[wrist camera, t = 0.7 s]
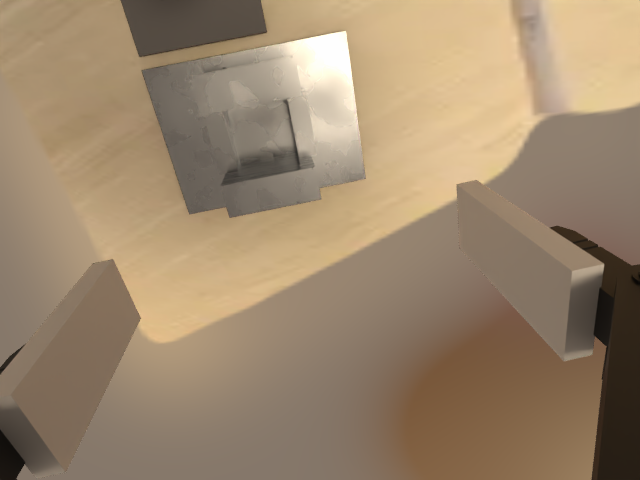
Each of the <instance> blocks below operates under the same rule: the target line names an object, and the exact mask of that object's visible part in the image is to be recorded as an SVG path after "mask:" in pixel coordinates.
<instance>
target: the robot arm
mask: <svg viewBox="0 0 640 480" xmlns="http://www.w3.org/2000/svg"><path fill="white" fill-rule="evenodd" d="M457 204H458V205H457V206H458V228H459V248H460V249H461V251H462V252H463V253H464V254H465V255H466V256H467V257H468V258H469V259H470V260H471V261H472V262H473V264H474V265H475V266H476V267H477V268H478V269H479V270H480V271H481V272H482V273H483V274H484V276H485V277H486V278H487V279H488V280H489V281H490V282H491V283H492V284H493V285H494V286H495V287H496V288H497V290H498V291H499V292H500V293H501V294H502V295H503V296H504V297H505V298H506V299H507V300H508V301H509V303H510V304H511V305H512V306H513V307H514V308H515V309H516V310H517V311H518V312H519V313H520V314H521V316H522V317H523V318H525V320H526V321H527V322H528V323H529V324H530V325H531V326H532V327H533V328H534V329H535V331H536V332H538V334H539V335H540V336H541V337H542V338H543V339H544V340H545V341H546V342H547V344H548V345H549V346H550V347H551V348H552V349H553V350H554V351H555V352H556V353H557V354H558V355H559V357H560V358H561V359H562V360H563V361H566V360H571V359H575V358H580V357H585V356H589V355H592V354H593V346H594V339H595V336H596V337H597V338H598V339H599V340H600V341H601V342H602V343H603V344H604V345H606V346H607V348H606V354H605V361H604V367H603V374H602V380H603V381H602V389H601V398H600V408H599V417H598V425H597V435H596V445H595V453H594V462H593V471H592V480H640V265H633V266H631V265H630V264H628V263H627V262H625V261H623V260H622V259H620V258H618V257H617V256H615V255H613V254H612V253H610V252H608V251H607V250H605V249H604V248H602V247H598V245H597V244H595V243H594V242H592V241H590V240H589V241H588V239H587V238H585V237H584V236H582V235H581V234H579V233H577V232H576V231H573V230H570V229H566V228H563V227H560V226H554V227H551V228H549V227H547V226H546V225H544V224H543V223H541V222H539V221H538V220H536V219H535V218H533V217H532V216H530V215H528V214H527V213H526V212H524V211H523V210H521V209H519V208H518V207H517V206H515V205H514V204H512V203H510V202H509V201H507V200H506V199H504V198H503V197H501V196H500V195H498V194H497V193H495V192H494V191H492V190H491V189H489V188H488V187H486V186H485V185H483V184H482V183H480V182H479V181H477V180H474V181H470V182H465V183H461V184H457ZM140 319H141V318H140V315H139V313H138V311H137V309H136V307H135V305H134V303H133V301H132V298H131V296H130V294H129V292H128V290H127V288H126V286H125V284H124V281H123V279H122V277H121V275H120V273H119V271H118V269H117V267H116V264H115V262H114V260H113V259H111V260H107V261H102V262H97V263H93V264H92V265H91V266H90V267H89V269H88V270H87V271H86V272H85V273H84V275H83V276H82V277H81V278H80V280H79V281H78V282H77V283H76V284H75V285H74V287H73V288H72V289H71V290H70V291H69V293H68V294H67V295H66V296H65V297H64V299H63V300H62V301H61V302H60V303H59V305H58V306H57V307H56V308H55V309H54V311H53V312H52V313H51V314H50V316H49V317H48V318H47V319H46V320H45V322H44V323H43V324H42V325H41V326H40V328H39V329H38V330H37V331H36V332H35V334H34V335H33V336H32V337H31V338H30V340H29V341H28V342H27V343H26V344H25V345H23V346H22V347H21V348H20V349H18V350H17V351H16V352H15V353H13V354H12V355H11V356H10V357H9V358H8V359H7V360H6V361H5V362H4V364H3V365H2V366H1V367H0V480H17V479H16V478H17V476H18V474H19V473H20V471H21V469H22V467H23V466H24V464H25V465H26V466H27V467H28V469H29V470H30V471H31V473H32V474H33V475H34V476H35V478H36V479H38V478H43V477H48V476H52V475H56V474H61V473H65V472H66V471H67V469H68V467H69V465H70V463H71V461H72V459H73V457H74V455H75V453H76V451H77V448H78V447H79V445H80V442H81V440H82V438H83V436H84V434H85V432H86V430H87V428H88V426H89V424H90V422H91V420H92V418H93V416H94V414H95V412H96V410H97V407H98V405H99V403H100V401H101V399H102V397H103V395H104V393H105V391H106V389H107V387H108V385H109V383H110V381H111V379H112V377H113V374H114V373H115V370H116V368H117V366H118V364H119V362H120V360H121V358H122V356H123V354H124V352H125V350H126V348H127V346H128V344H129V342H130V340H131V337H132V335H133V333H134V331H135V329H136V327H137V325H138V323H139V321H140Z"/></svg>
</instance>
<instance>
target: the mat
mask: <svg viewBox="0 0 640 480" xmlns="http://www.w3.org/2000/svg"><path fill="white" fill-rule="evenodd" d="M121 2H122V5H123V8H124V11H125V14H126V18H127V21H128V24H129V27H130V30H131V33H132V36H133V39H134V42H135V45H136V48H137V51H138V54H139V56H146V55H151V54H156V53H161V52H166V51H171V50H177V49H182V48H187V47H192V46H197V45H203V44H208V43H213V42H218V41H223V40H228V39H234V38H239V37H244V36H249V35H254V34H260V33H265V32H267V30H266V25H265V20H264V15H263V10H262V5H261V0H121Z"/></svg>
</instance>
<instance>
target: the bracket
mask: <svg viewBox="0 0 640 480" xmlns="http://www.w3.org/2000/svg"><path fill="white" fill-rule="evenodd" d="M142 73H143V76H144V79H145V82H146V85H147V88H148V91H149V94H150V97H151V100H152V103H153V106H154V109H155V112H156V115H157V118H158V121H159V124H160V127H161V130H162V133H163V136H164V139H165V142H166V145H167V148H168V151H169V154H170V157H171V160H172V163H173V166H174V169H175V172H176V175H177V178H178V181H179V184H180V187H181V191H182V194H183V197H184V200H185V203H186V206H187V209H188V212H189V214H193V213H198V212H203V211H208V210H213V209H218V208H223V207H227V210H228V214H229V217H230V218H231V217H236V216H241V215H246V214H251V213H256V212H261V211H266V210H271V209H276V208H281V207H286V206H291V205H296V204H301V203H306V202H311V201H315V200H320V199H321V194H320V189H319V188H322V187H327V186H332V185H337V184H342V183H347V182H352V181H357V180H362V179H366V178H365V170H364V163H363V156H362V148H361V141H360V133H359V126H358V118H357V111H356V103H355V96H354V88H353V81H352V73H351V66H350V58H349V51H348V43H347V36H346V31H343V32H337V33H332V34H327V35H322V36H317V37H312V38H306V39H301V40H296V41H291V42H286V43H281V44H275V45H270V46H265V47H260V48H255V49H250V50H245V51H239V52H234V53H229V54H224V55H219V56H214V57H208V58H203V59H198V60H193V61H188V62H183V63H177V64H172V65H167V66H162V67H157V68H152V69H146V70H142Z"/></svg>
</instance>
